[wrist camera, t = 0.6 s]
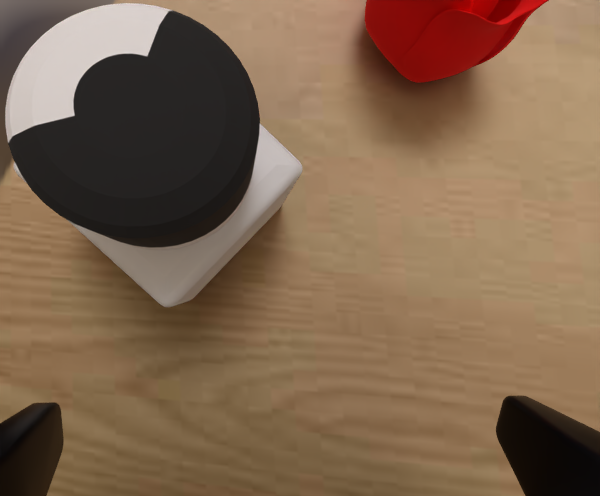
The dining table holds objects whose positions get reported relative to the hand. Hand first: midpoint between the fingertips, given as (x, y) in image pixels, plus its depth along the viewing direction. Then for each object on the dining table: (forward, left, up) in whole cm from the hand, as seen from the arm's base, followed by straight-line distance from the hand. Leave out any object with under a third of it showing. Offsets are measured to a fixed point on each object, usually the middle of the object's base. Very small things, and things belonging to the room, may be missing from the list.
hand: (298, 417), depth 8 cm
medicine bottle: (+6, +5, -13) cm, 16 cm away
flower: (+18, -6, -13) cm, 23 cm away
